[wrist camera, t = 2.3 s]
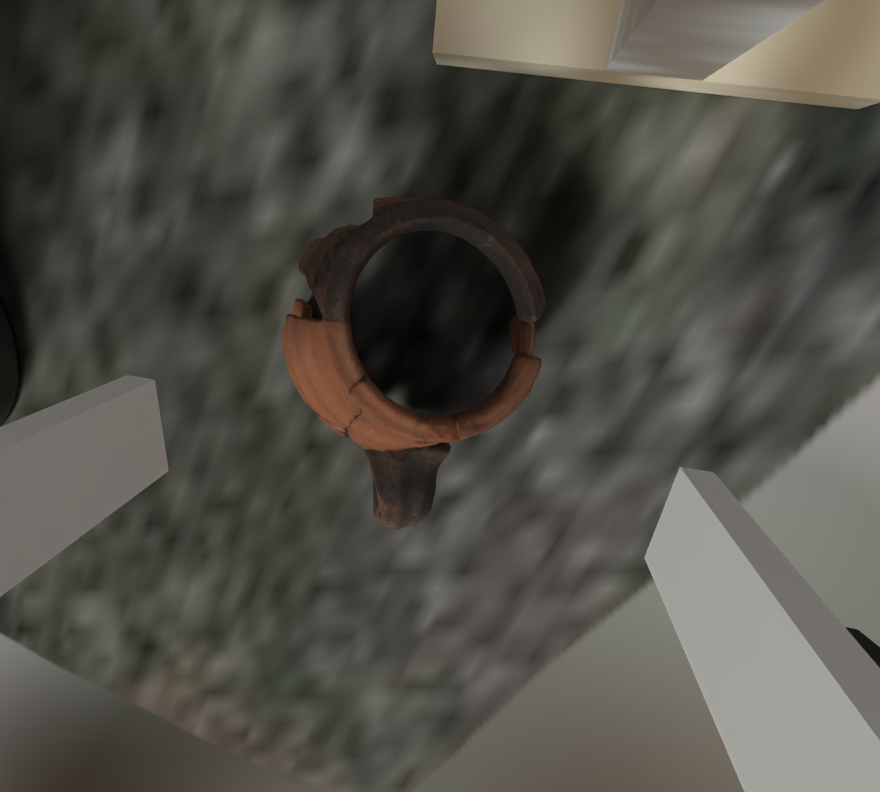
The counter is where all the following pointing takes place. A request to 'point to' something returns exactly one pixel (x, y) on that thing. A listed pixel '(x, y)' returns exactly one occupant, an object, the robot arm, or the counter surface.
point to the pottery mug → (345, 380)
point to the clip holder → (676, 44)
